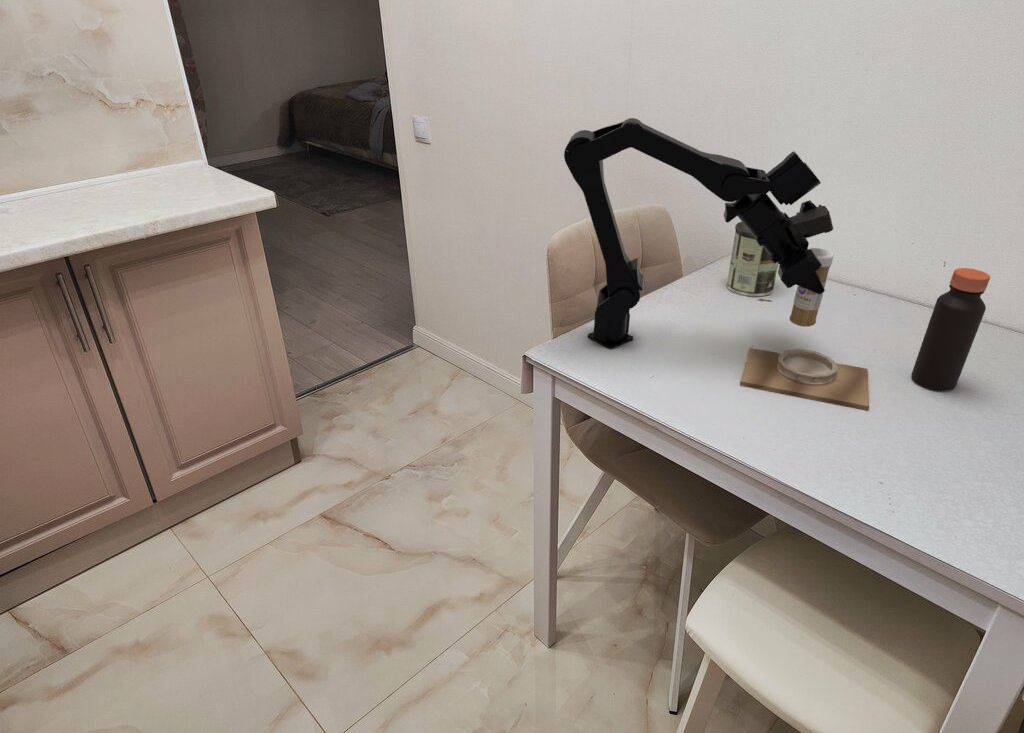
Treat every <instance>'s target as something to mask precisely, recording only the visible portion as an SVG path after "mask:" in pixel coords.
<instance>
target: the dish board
mask: <svg viewBox="0 0 1024 733" xmlns="http://www.w3.org/2000/svg"><path fill="white" fill-rule="evenodd" d="M739 382H740V383H739V386H742V387H747V388H752V389H757V390H762V391H768V392H774V393H777V394H783V395H788V396H792V397H798V398H801V399H807V400H813V401H817V402H823V403H828V404H832V405H837V406H844V407H849V408H853V409H857V410H862V411H869V409H870V390H869V369H868V368H866V367H859V366H854V365H850V364H849V365H848V364H842V363H838V362H837V363H836V362H835V360H833V359H832V358H831V357H829V356H828V355H825V354H822V353H821V352H819V351H816V350H815V351H814V350H808V349H805V348H804V349H803V348H795V349H787V350H784V351H783V352H775V351H771V350H764V349H760V348H759V349H758V348H753V347H749V349H748V352H747V356H746V360H745V364H744V368H743V371H742V374H741V378H740V381H739Z"/></svg>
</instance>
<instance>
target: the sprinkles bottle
mask: <svg viewBox="0 0 1024 733" xmlns="http://www.w3.org/2000/svg"><path fill="white" fill-rule="evenodd" d="M810 249H811V250H812V251H813V252H814V254H816V256H817V258H818V259H819V261H820V263H821V264H822V266H821V267H820V268H819V269H818V270H816V273H817V275H818V277H819V279H820V281H821V283H822V285H823V287H824V289H825V287H826V284H827V278H828V276H829V275H828V274H829V270H830V268H831V266H832V264H833V259H834V253H833V252H832V251H830V250H828V249H825V248H818V247H817V248H815V247H814V248H813V247H811V248H810ZM823 295H824V292H823V293H821V294H817V293H815V292H813V291H810V290H808V289H806V288H803V287H801V286H798V285H797V287H796V291H795V295H794V299H793V305H792V309H791V314H790V316H789V321H790V322H791V323H792V324H793V325H796V326H799V327H804V328H805V327H812V326H814V325H815V324H816V323H817V316H818V312H819V309H820V306H821V302H822V299H823Z"/></svg>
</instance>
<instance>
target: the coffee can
mask: <svg viewBox="0 0 1024 733" xmlns="http://www.w3.org/2000/svg"><path fill="white" fill-rule="evenodd" d="M734 229H735V230H734V231H735V232H734V237H733V244H732V250H731V257H730V261H729V262H730V263H729V268H728V269H729V270H728V274H727V281H726V288H727V289H728V290H729V291H731V292H733V293H735V294H737V295H740V296H746V297H752V298H753V297H757V298H760V297H765V296H769V295H771V294H772V293H773V292H774V290H775V289H774V288H775V282H776V278H777V274H778V269H779V264H778V262H777V263H774V262H773V261H772V259H771V257H770V255H769V253H768V252H767V251H766V250H765V249H764V248H763V246H760V245H759V244H758V243H757V241H756V238H755V237H754V236H753V234H752V233H751V232H750V231H749V229H748V228H747V227H746V226H745V225H744V223H743V222H742V221H740V222H737V223H736V224H735V227H734Z"/></svg>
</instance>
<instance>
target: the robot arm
mask: <svg viewBox="0 0 1024 733" xmlns="http://www.w3.org/2000/svg"><path fill="white" fill-rule="evenodd" d="M630 148H631V149H634V150H636V151H638V152H640V153H643V154H644V155H646V156H649V157H651V158H653V159H655V160H658V161H659V162H662V163H664V164H666V165H668V166H670V167H672V168H674V169H676V170H678V171H680V172H682V173H685V174H687V175H689V176H691V177H693V179H694V180H697V181H698V183H700V184H701V185H702V186H703V187H704V188H706V189H707V190H708V191H710V192H711V193H713V195H715V196H716V197H718V198H719V199H721V200H722V201H724V202H725V203H724V212H723V217H724V221H725V222H726V223H730V222H731V221H732V220H734V219H735V218H737V217H738V218H739V220H740V222H743V223H744V225H745V226H746V227H747V228H748V229H749V231H750V232H751V233H752V234H753V236H754V237H755V238H756V241H757V243H758V244H759V245H760V246H763V248H764V249H765V250H766V251H767V252H768V253H769V255H770V257H771V259H772V261H773V262H774V263H777V262H778V268H777V274H778V276H779V279H780V281H781V282H782V283H783V285H785V287H786V288H787V289H789V288H790V289H791V288H793V287H794V286H795V285H796V286H797V287H798V286H801V287H803V288H806V289H808V290H810V291H813V292H815V293H817V294H821V293H823V294H824V292H825V291H826V289H825V288H824V287H823V285H822V283H821V281H820V279H819V277H818V275H817V273H816V270H818V269H819V268H820V267H821V266H822V264H821V263H820V261H819V259H818V258H817V256H816V254H814V252H813V251H812V250H811V248H809V244H810V243H809V241H808V238H811V237H815V236H818V235H821V234H828V233H830V232H832V231H833V230H834V225H833V222H832V217H831V213H830V210H829V208H827V207H826V205H822V204H818V206H817V205H816V204H815V203H814V202H813V201H812V200H810V199H809V200H806V201H803V202H801V204H800V208H799V211H798V212H796V214H795V215H792V216H789V215H788V213H786V212H783V211H781V209H780V208H779V207H778V206H777V205H776V203H775V202H774V201H773V200H772V199H771V197H770V196H769V195H768V193H769V192H770V193H771V195H772V196H773V198H774V199H775V200H776V201H777V202H778V203H779V205H781V206H782V205H783V204H784V205H785V206H788V205H789V206H793V204H795V203H796V202H798V201H799V200H800V199H802V198H803V197H804V196H805V195H807V194H809V193H810V192H811V191H812V190H814V189H815V188H816V187H818V186H819V185H820V184H821V183H822V182H821V181H820V180H819V178H818V177H817V176H816V174H815V173H814V172H813V170H812V169H811V167H809V165H808V163H806V162H805V161H803V160H802V159H801V157H800V156H799V155H798V153H797V152H796V151H794V150H793V151H792V152H790V153H789V154H788V155H787V156H786V157H785V158H784V159H783V160H782V161H781V162H779V163H778V164H777V165H775V166H773V168H771V169H770V170H768V172H766V171H765V170H764V169H758V168H753V167H749V166H746V165H745V164H744V163H743V162H742V161H741V160H738V159H736V158H732V157H728V156H724V155H721V154H715V153H709V152H704V151H701V150H699V149H697V148H695V147H694V146H691V145H689V144H686V143H684V142H683V141H680V140H678V139H676V138H674V137H673V136H670V135H668V134H666V133H663V132H661V131H659V130H658V129H655V128H653V127H651V126H650V125H647V124H645V123H644V122H642V121H641V120H639V119H638V118H634V117H629V118H627V119H625V120H624V121H621V122H618V123H614V124H611V125H608V126H605V127H604V126H603V127H602V128H599V129H596V130H593V131H592V130H588V129H587V130H586V129H583V130H578V131H577V132H574V133H573V135H572V136H571V137H570V139H569V141H568V143H567V144H566V146H565V148H564V151H563V158H564V162H565V164H566V166H567V168H568V170H569V173H571V176H572V178H573V179H574V181H575V182H576V184H577V185H578V187H579V188H580V190H581V191H582V192H583V193H582V194H583V197H584V199H585V202H586V206H587V209H588V212H589V216H590V219H591V221H592V226H593V228H594V231H595V234H596V238H597V241H598V245H599V248H600V251H601V254H602V258H603V261H604V263H605V278H606V284H605V285H604V286H603V287H602V288H600V289H599V291H598V296H597V301H596V307H595V311H594V321H593V323H594V324H593V332H590V333H588V334H587V338H589V339H591V340H592V341H595V342H596V343H598V344H600V345H602V346H603V347H606V348H607V349H614V348H617V347H618V346H621V345H623V344H626V343H628V342H630V341H633V340H634V336H633V335H631V334H629V331H630V330H629V329H630V318H631V314H630V312H631V311H630V310H631V309H633V308H634V307H636V306H637V305H638V303H639V301H640V300H641V292H643V290H644V289H643V288H644V275H643V274H642V273H641V271H640V267H639V259H638V258H636V257H635V258H634V259H630V258H629V257H628V255H627V253H626V251H625V247H624V244H623V240H622V237H621V234H620V231H619V228H618V223H617V219H616V216H615V213H614V210H613V208H612V204H611V200H610V197H609V193H608V190H607V186H606V184H605V174H604V160H606V159H608V158H610V157H612V156H615V155H616V154H619V153H620V152H622V151H624V150H628V149H630Z"/></svg>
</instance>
